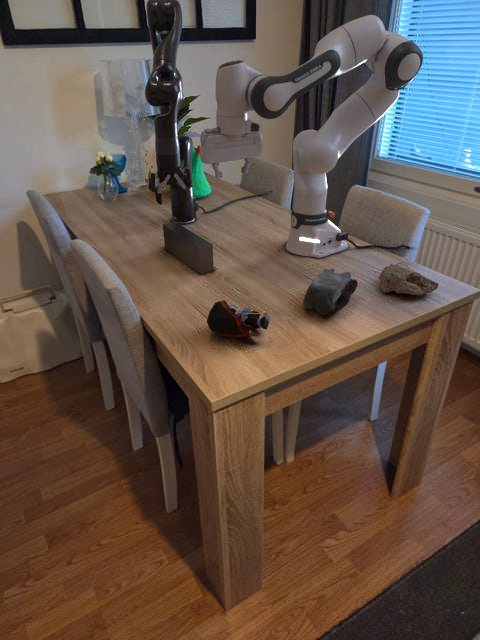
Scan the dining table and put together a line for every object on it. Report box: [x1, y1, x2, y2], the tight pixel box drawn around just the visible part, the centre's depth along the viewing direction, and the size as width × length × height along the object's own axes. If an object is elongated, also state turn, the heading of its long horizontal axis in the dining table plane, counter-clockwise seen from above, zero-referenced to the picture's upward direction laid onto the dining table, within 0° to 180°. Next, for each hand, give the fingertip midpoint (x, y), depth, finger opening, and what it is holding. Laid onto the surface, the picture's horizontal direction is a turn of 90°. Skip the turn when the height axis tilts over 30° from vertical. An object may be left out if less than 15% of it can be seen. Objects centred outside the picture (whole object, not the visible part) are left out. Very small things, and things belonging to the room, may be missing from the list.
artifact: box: [378, 261, 439, 296], centre depth 132 cm, size 18×7×15 cm
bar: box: [162, 221, 214, 275], centre depth 150 cm, size 26×5×9 cm, turn 34°
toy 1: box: [168, 137, 212, 200], centre depth 210 cm, size 20×20×25 cm
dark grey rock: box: [302, 268, 359, 317], centre depth 123 cm, size 18×11×8 cm, turn 152°
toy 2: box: [206, 299, 271, 345], centre depth 109 cm, size 12×9×15 cm
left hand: (171, 202), depth 149 cm, fingers open, 8 cm apart
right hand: (232, 175), depth 134 cm, fingers open, 8 cm apart
